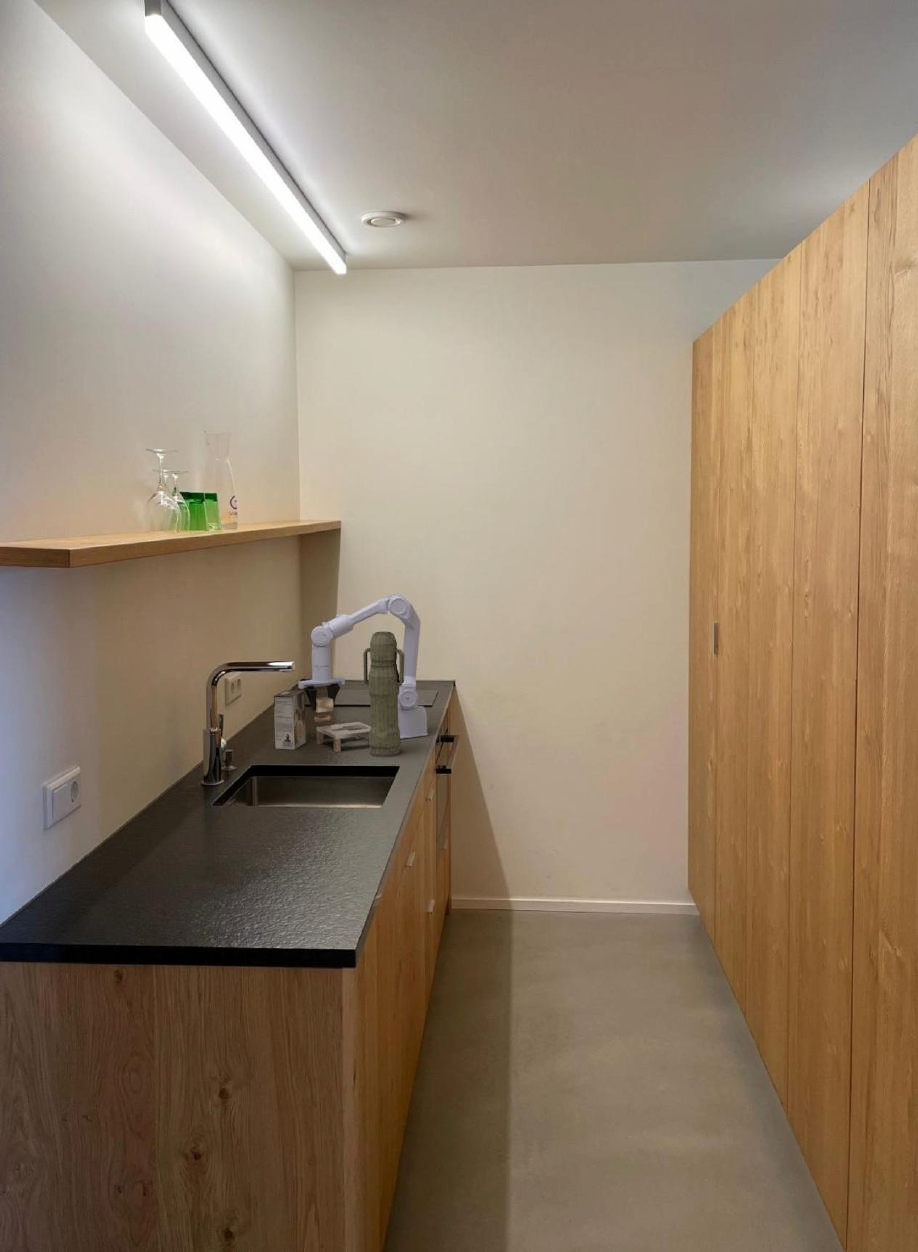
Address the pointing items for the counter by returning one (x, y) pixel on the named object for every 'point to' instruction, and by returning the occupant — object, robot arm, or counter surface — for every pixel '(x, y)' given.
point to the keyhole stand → (342, 732)
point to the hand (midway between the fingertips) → (322, 709)
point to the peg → (323, 709)
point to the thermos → (384, 693)
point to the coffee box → (289, 719)
